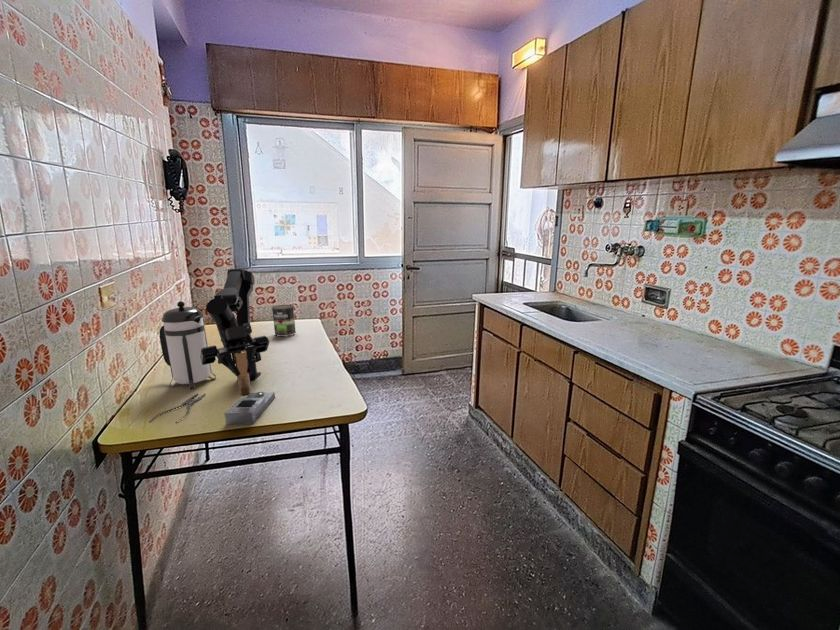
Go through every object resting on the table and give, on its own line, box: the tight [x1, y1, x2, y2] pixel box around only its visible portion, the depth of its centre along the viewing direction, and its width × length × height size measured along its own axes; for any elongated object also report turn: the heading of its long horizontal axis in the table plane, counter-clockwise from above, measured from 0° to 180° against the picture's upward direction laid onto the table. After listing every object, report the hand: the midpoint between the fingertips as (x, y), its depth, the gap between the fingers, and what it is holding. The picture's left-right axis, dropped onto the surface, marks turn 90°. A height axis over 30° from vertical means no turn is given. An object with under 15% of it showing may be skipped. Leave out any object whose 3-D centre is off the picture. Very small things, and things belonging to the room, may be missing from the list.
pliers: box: [148, 393, 206, 423], centre depth 132 cm, size 10×1×20 cm
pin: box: [234, 350, 252, 397], centre depth 123 cm, size 3×3×13 cm
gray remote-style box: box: [224, 391, 276, 426], centre depth 129 cm, size 18×8×4 cm, turn 179°
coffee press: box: [158, 300, 217, 390], centre depth 149 cm, size 17×16×30 cm
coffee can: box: [271, 304, 297, 337], centre depth 210 cm, size 10×10×14 cm
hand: (244, 374), depth 122 cm, fingers closed on pin, 3 cm apart
